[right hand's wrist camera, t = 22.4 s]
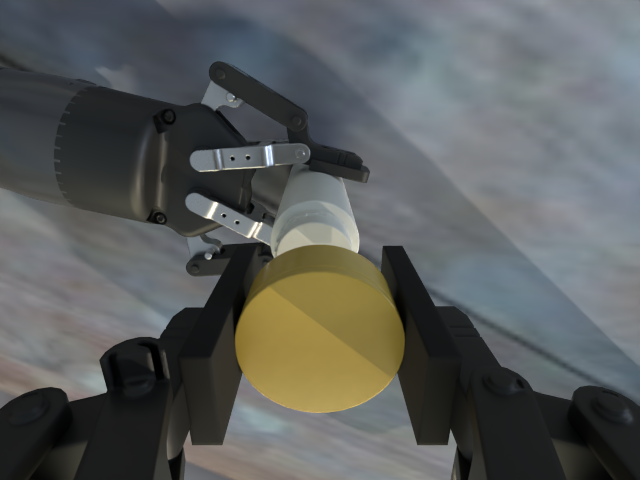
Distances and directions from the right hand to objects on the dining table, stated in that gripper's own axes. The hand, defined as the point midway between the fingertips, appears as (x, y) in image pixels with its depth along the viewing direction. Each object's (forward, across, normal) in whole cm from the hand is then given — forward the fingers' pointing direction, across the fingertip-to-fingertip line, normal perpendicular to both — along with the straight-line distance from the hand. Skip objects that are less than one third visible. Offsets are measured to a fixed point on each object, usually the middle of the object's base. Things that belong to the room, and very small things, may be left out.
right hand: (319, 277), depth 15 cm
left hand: (+10, -2, 0) cm, 10 cm away
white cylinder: (+17, 0, 0) cm, 17 cm away
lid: (-4, 0, 0) cm, 4 cm away
